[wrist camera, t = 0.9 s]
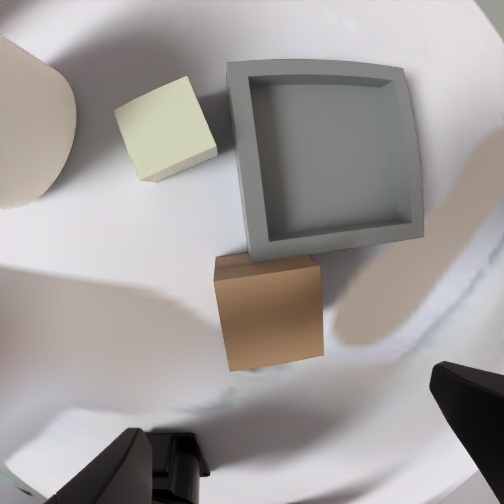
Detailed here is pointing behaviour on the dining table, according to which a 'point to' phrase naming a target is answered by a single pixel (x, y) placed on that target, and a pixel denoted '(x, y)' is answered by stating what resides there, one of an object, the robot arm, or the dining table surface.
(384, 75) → the tray
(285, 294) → the walnut cube
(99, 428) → the dining table surface
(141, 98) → the sage cube
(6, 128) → the cup
